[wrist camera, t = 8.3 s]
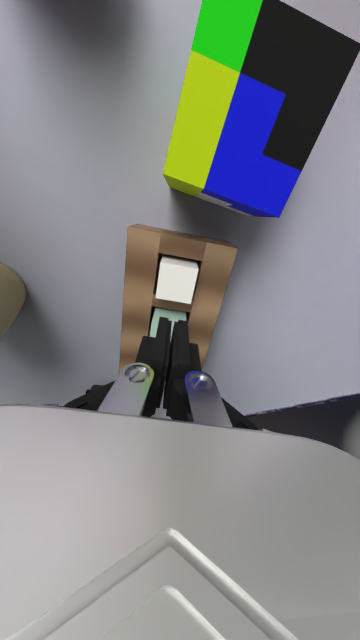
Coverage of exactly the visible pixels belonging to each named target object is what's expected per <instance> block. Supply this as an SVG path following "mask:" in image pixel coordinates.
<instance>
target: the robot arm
mask: <svg viewBox="0 0 360 640" xmlns="http://www.w3.org/2000/svg"><path fill="white" fill-rule="evenodd" d="M171 326H172V321H170V320H169V318H166V317H160V318H159V323H158V328H157V333H156V337H149V336H143V337H142V340H141V344H140V347H139V350H138V354H137V357H136V360H135V363H131V364H128V365H126V366H125V367H124V368H123V369H122V371H121V372H120V374H119V376H118V377H117V379H116V380H115V381H113V382H111V383H109V384H107V385H105V386H102V387H100V388H98V389H96V390H94V391H91V392H89V393H87V394H85V395H83V396H81V397H78V398H76V399H74V400H72V401H70V402H69V403H67V404H66V405H65V406H59V407H58V404H47V405H31V404H2V405H0V640H360V460H358V459H357V458H355V457H353V456H352V455H350V454H348V453H346V452H344V451H342V450H340V449H338V448H335V447H333V446H330V445H328V444H325V443H322V442H319V441H316V440H311V439H307V438H303V437H298V436H292V435H286V434H280V433H274V432H271V431H268V430H265V429H262V430H261V431H260V430H258V428H257V427H256V426H255V425H254V424H253V423H252V422H251V421H249V420H248V419H247V418H246V417H245V416H243V415H242V414H241V413H240V412H239V411H237V410H236V409H235V408H234V407H232V406H231V405H230V404H229V403H227V402H226V401H225V400H224V399H223V398H221V396H220V394H219V391H218V389H217V386H216V383H215V381H214V380H213V378H212V377H211V376H210V375H208V374H206V373H204V372H202V370H201V363H200V355H199V348H198V344H195V343H189V334H188V321H184V320H178V322H176V321H175V322H174V327H173V332H172V337H171ZM170 339H171V342H170ZM164 384H165V389H164ZM163 389H164V400H163V409H167V411H166V416H170V417H171V419H172V420H171V419H162V418H154V417H150V416H152V415H153V414H155V411H156V408H160V404H161V399H162V394H163Z"/></svg>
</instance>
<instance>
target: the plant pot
mask: <svg viewBox="0 0 360 640" xmlns="http://www.w3.org/2000/svg"><path fill="white" fill-rule="evenodd" d="M25 299H26V288H25V285H24V283H23V281H22V279H21V278H20V276H19V275H18V274H17V273H16V272H15V271H14V270H12V269H11V268H10V267H8V266H6V265H5V264H2V263H0V341H1V339H2V338H3V337H4V335H5V334H6V332H7V331H8V329H9V328H10V326H11V325H12V323H13V322H14V320H15V319H16V317H17V315H18V313H19V312H20V310H21V308H22V306H23V304H24V302H25Z"/></svg>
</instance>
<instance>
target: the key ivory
mask: <svg viewBox="0 0 360 640" xmlns="http://www.w3.org/2000/svg"><path fill="white" fill-rule="evenodd" d="M198 270H199V269H198V265H197V262H196V260H195V259H189V258H184V257H179V256H173V255H168V254H164V255H163V257H162V260H161V262H160V269H159V277H158V284H157V291H156V298H158V299H164V300H170V301H176V302H181V303H187V304H191V301H192V296H193V292H194V287H195V283H196V279H197V274H198Z"/></svg>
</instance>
